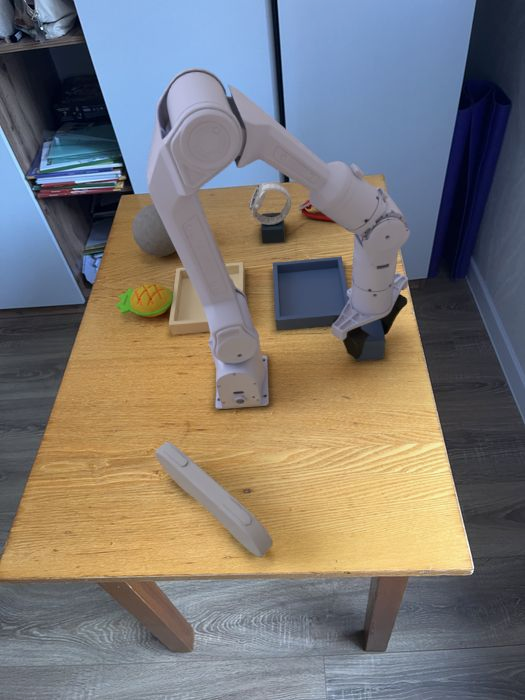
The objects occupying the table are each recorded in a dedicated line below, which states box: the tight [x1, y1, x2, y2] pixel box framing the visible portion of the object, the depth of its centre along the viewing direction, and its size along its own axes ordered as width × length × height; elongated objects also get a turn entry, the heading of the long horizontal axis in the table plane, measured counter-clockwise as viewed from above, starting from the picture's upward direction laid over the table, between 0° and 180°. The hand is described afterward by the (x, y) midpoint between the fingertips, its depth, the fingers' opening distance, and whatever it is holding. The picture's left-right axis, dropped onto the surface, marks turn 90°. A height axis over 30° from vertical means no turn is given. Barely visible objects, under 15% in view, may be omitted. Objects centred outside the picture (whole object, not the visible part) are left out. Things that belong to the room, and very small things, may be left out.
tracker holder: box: [298, 199, 334, 222], centre depth 104 cm, size 12×4×10 cm
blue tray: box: [272, 256, 350, 331], centre depth 89 cm, size 15×13×2 cm
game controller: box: [154, 441, 274, 558], centre depth 64 cm, size 20×2×8 cm, turn 47°
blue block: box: [354, 320, 387, 362], centre depth 80 cm, size 4×4×4 cm
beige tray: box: [168, 261, 246, 336], centre depth 91 cm, size 15×13×2 cm
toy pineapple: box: [115, 283, 173, 318], centre depth 90 cm, size 7×10×5 cm
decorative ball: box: [131, 203, 177, 257], centre depth 99 cm, size 10×10×10 cm
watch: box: [249, 181, 292, 244], centre depth 99 cm, size 6×8×11 cm
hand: (367, 342), depth 80 cm, fingers closed on blue block, 6 cm apart
